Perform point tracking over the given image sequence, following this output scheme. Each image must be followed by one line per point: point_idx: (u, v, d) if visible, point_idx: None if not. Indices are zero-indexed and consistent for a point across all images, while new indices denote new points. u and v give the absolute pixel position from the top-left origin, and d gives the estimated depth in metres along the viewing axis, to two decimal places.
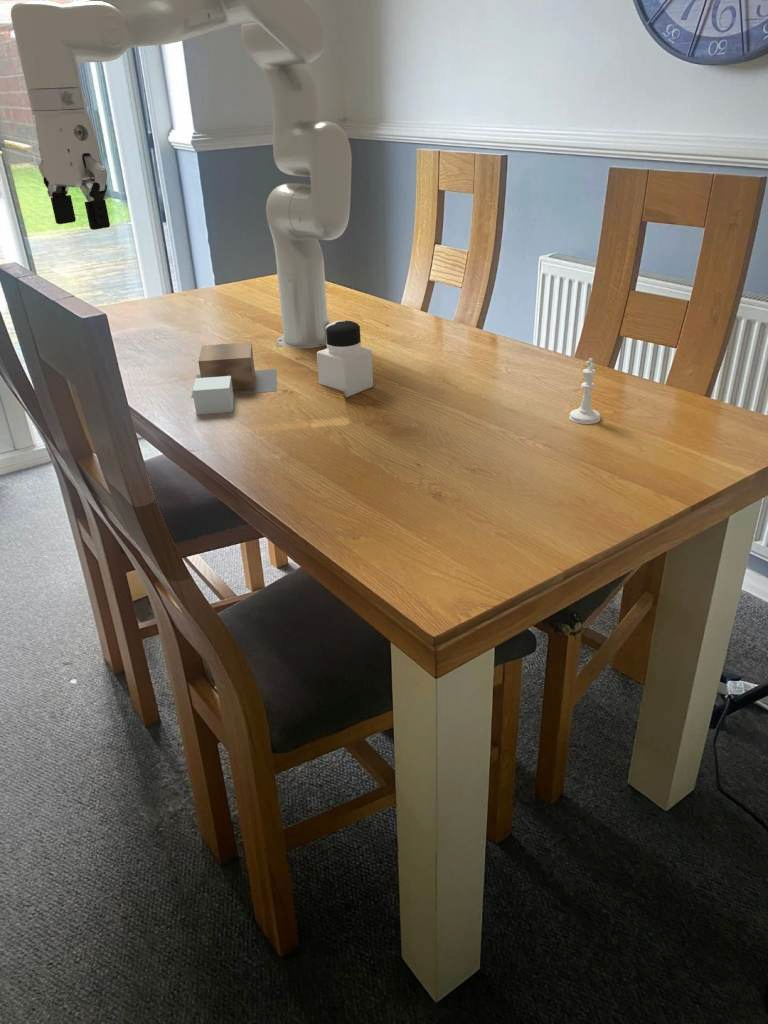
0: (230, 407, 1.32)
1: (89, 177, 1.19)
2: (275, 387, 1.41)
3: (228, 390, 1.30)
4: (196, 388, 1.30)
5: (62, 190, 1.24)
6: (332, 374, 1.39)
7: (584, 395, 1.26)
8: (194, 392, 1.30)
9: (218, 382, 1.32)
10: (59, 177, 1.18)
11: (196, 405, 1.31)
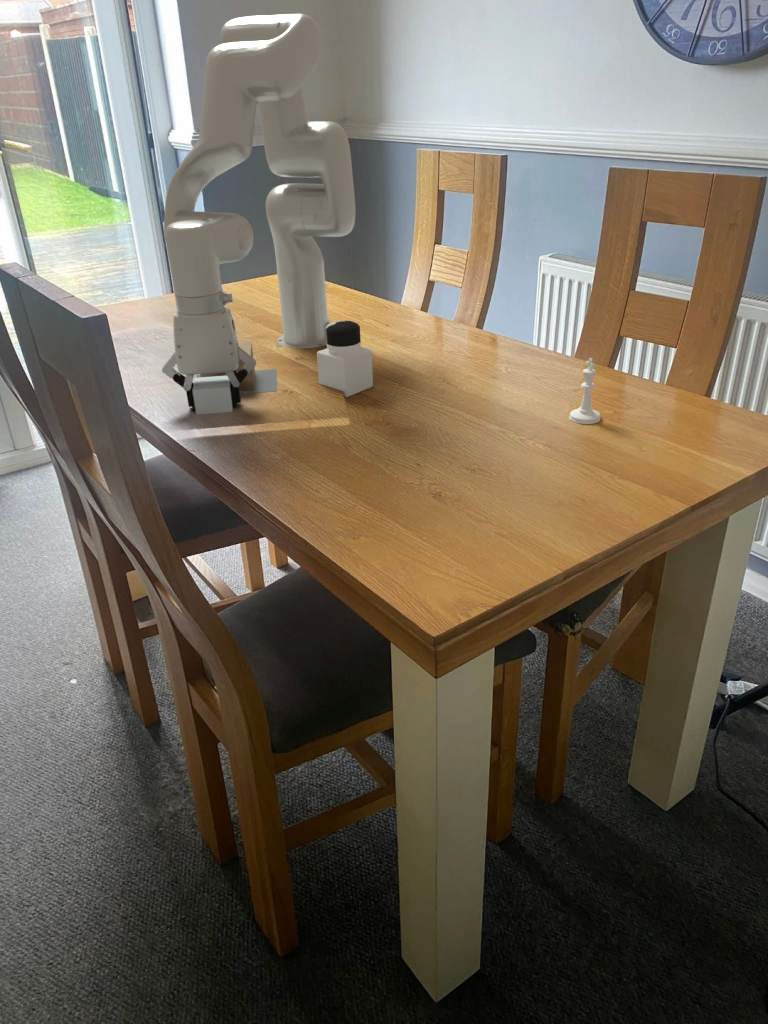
0: (230, 406, 1.32)
1: None
2: (275, 387, 1.41)
3: (228, 389, 1.30)
4: (196, 388, 1.30)
5: None
6: (332, 374, 1.39)
7: (584, 395, 1.26)
8: (194, 391, 1.30)
9: (218, 382, 1.32)
10: (207, 367, 1.29)
11: (196, 404, 1.31)
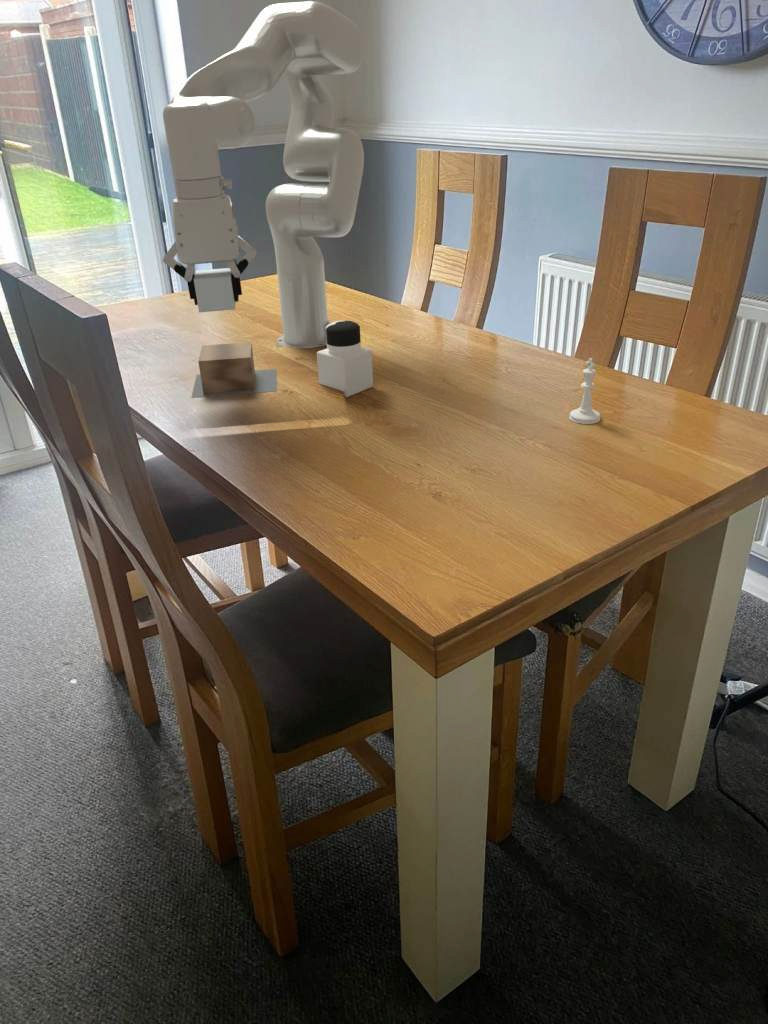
0: (231, 297, 1.32)
1: None
2: (275, 387, 1.41)
3: (229, 279, 1.30)
4: (197, 278, 1.30)
5: None
6: (332, 374, 1.39)
7: (584, 395, 1.26)
8: (195, 281, 1.30)
9: (219, 273, 1.32)
10: (208, 255, 1.29)
11: (197, 295, 1.31)
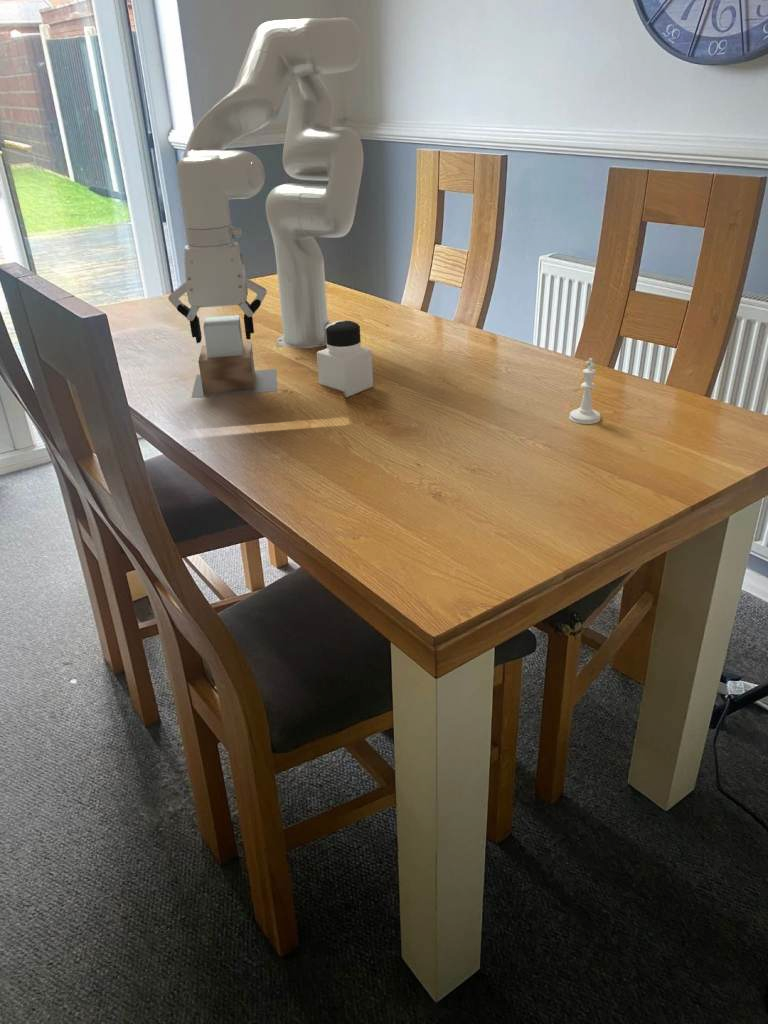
0: (239, 344, 1.38)
1: None
2: (275, 387, 1.41)
3: (237, 327, 1.36)
4: (207, 325, 1.36)
5: None
6: (332, 374, 1.39)
7: (584, 395, 1.26)
8: (205, 328, 1.36)
9: (227, 320, 1.39)
10: (217, 299, 1.35)
11: (206, 341, 1.37)
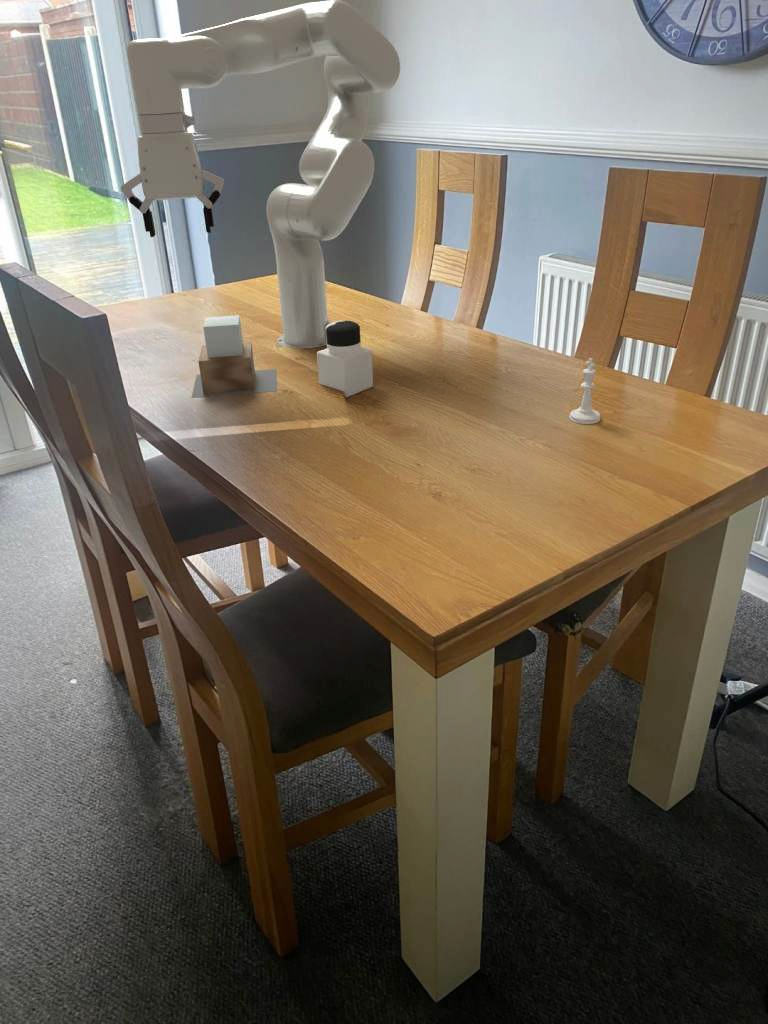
0: (239, 344, 1.38)
1: None
2: (275, 387, 1.41)
3: (237, 327, 1.36)
4: (207, 325, 1.36)
5: None
6: (332, 374, 1.39)
7: (584, 395, 1.26)
8: (205, 328, 1.36)
9: (227, 320, 1.39)
10: (173, 191, 1.33)
11: (206, 341, 1.37)
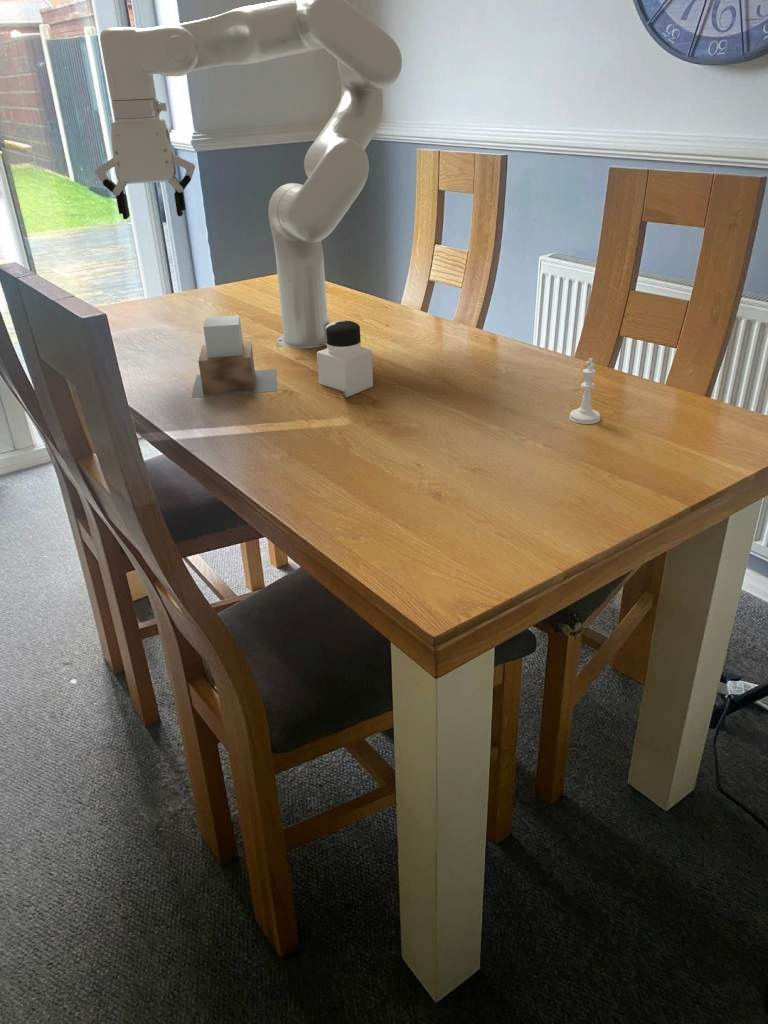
0: (239, 344, 1.38)
1: None
2: (275, 387, 1.41)
3: (237, 327, 1.36)
4: (207, 325, 1.36)
5: None
6: (332, 374, 1.39)
7: (584, 395, 1.26)
8: (205, 328, 1.36)
9: (227, 320, 1.39)
10: (144, 175, 1.38)
11: (206, 341, 1.37)
